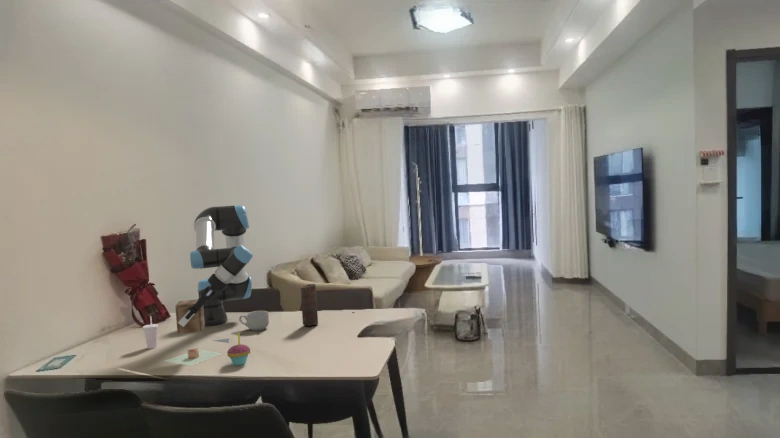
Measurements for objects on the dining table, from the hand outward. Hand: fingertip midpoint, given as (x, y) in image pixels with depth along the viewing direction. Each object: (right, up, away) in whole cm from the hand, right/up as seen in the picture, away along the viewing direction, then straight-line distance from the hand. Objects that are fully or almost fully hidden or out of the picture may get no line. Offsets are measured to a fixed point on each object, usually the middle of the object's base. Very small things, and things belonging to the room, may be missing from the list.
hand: (182, 321), depth 206 cm
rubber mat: (+3, -14, +21) cm, 25 cm away
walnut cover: (+3, -3, +1) cm, 5 cm away
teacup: (+17, -13, +44) cm, 49 cm away
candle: (+44, -11, +45) cm, 64 cm away
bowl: (+4, -15, +2) cm, 15 cm away
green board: (+4, -15, +2) cm, 16 cm away
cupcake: (+25, -15, -8) cm, 30 cm away
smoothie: (-22, -16, +22) cm, 35 cm away
